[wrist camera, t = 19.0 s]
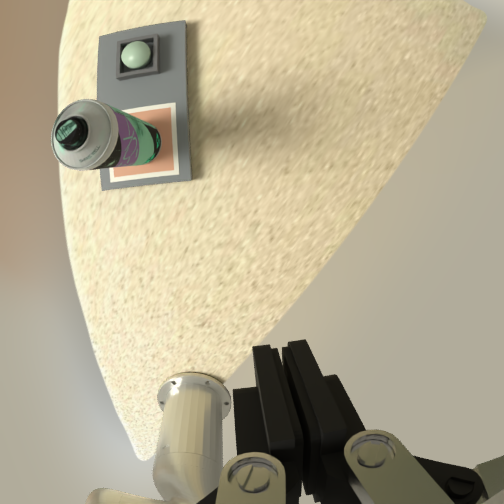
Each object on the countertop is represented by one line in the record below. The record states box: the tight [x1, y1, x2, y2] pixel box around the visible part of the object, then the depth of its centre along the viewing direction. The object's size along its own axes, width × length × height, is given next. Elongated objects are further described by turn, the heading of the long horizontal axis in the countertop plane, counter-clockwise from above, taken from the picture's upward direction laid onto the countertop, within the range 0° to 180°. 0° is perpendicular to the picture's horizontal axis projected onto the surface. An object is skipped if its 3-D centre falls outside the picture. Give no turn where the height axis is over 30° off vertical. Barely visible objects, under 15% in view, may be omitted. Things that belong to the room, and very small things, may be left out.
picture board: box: [97, 20, 192, 191], centre depth 34 cm, size 22×12×3 cm, turn 3°
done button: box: [121, 41, 152, 70], centre depth 31 cm, size 4×4×2 cm
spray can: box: [51, 99, 162, 171], centre depth 26 cm, size 6×6×20 cm
